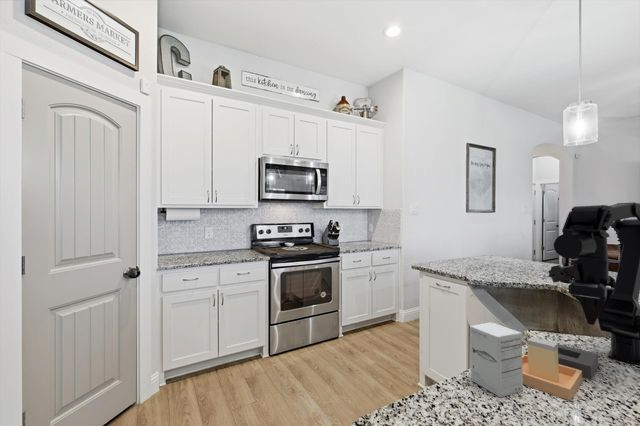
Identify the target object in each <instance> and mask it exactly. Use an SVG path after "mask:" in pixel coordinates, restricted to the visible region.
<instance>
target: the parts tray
mask: <svg viewBox="0 0 640 426" xmlns="http://www.w3.org/2000/svg"><path fill="white" fill-rule="evenodd" d="M558 365H559V380H558V381H557V382H556V383H554V382H551V381H548V380H545V379H542V378H539V377H536V376H533V375H530V374H529V371H528V354H525V353H522V372H523V386H524V385H525V386H527V387H530V388H533V389H536V390H538V391H541V392H543V393H547V394H549V395H552V396H555V397H558V398H561V399H564V400H567V401H570V402H571V401H572V400H573V398H574V396H575V394H576V393H577V391H578V389H579V388H580V386H581V384H582V383H583V377H582V371H581V370H578V369H574V368H571V367H567V366H564V365H560V364H558Z"/></svg>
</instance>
